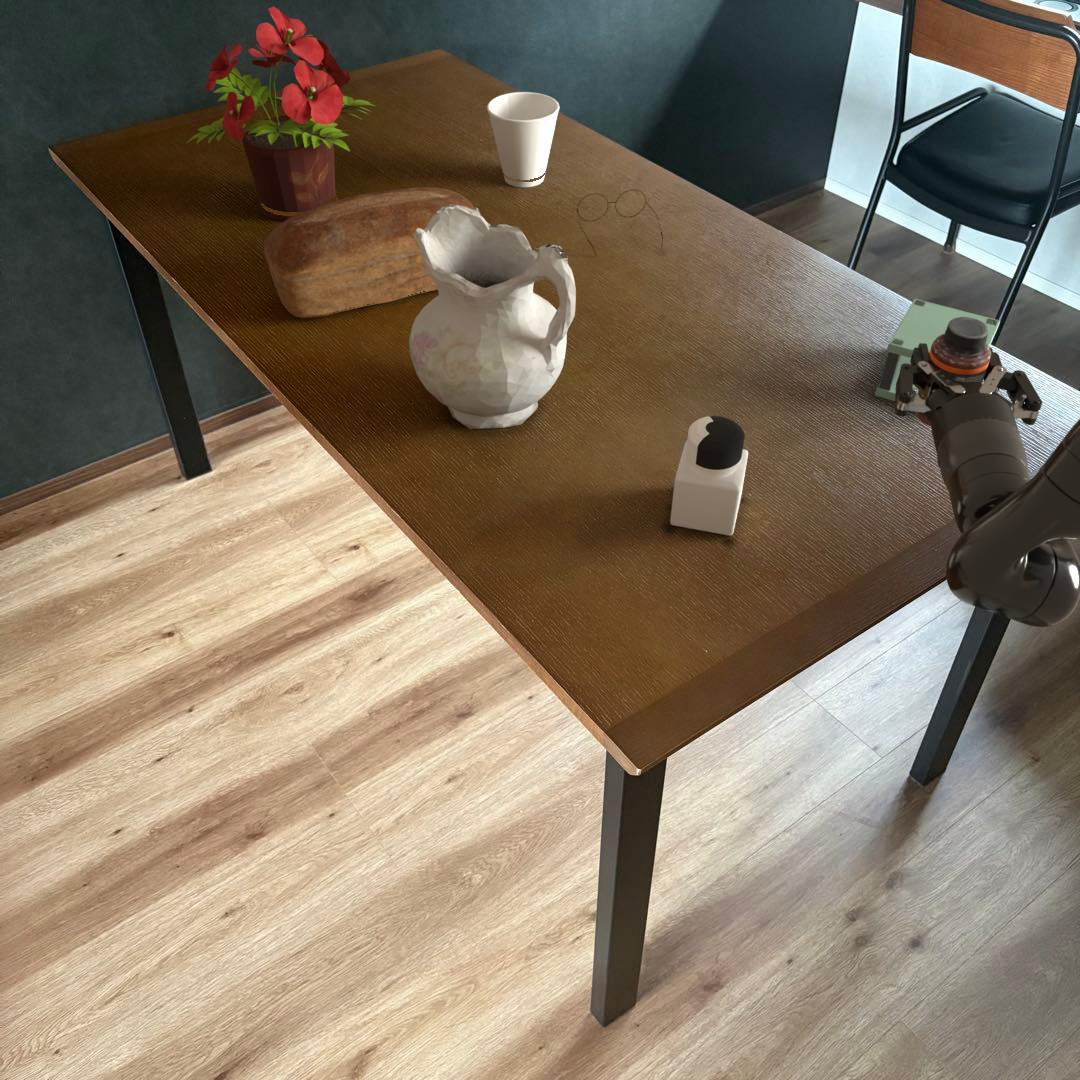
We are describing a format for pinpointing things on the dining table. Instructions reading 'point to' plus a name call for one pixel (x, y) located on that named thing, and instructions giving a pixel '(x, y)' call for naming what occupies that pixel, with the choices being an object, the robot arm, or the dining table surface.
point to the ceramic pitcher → (489, 319)
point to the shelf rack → (920, 338)
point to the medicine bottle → (710, 476)
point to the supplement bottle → (960, 353)
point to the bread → (354, 251)
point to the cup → (523, 134)
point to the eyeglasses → (618, 213)
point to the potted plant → (285, 117)
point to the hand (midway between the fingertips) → (952, 352)
